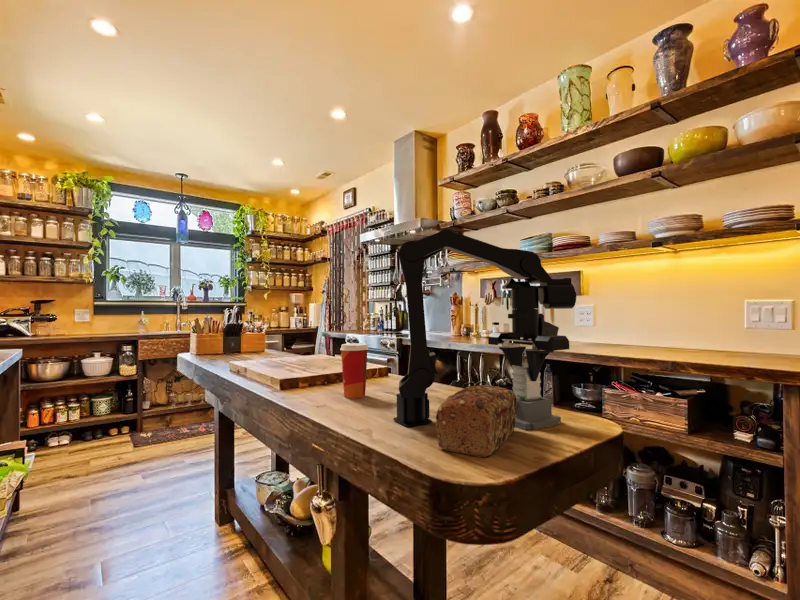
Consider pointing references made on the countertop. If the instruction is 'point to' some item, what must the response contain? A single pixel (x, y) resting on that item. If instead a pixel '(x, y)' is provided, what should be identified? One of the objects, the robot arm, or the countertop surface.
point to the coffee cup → (354, 369)
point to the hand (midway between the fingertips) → (526, 379)
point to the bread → (476, 420)
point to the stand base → (535, 414)
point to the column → (525, 384)
